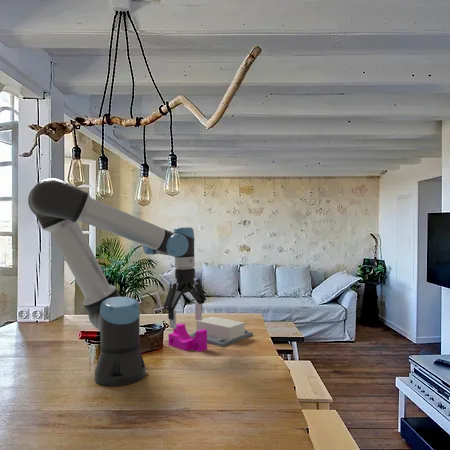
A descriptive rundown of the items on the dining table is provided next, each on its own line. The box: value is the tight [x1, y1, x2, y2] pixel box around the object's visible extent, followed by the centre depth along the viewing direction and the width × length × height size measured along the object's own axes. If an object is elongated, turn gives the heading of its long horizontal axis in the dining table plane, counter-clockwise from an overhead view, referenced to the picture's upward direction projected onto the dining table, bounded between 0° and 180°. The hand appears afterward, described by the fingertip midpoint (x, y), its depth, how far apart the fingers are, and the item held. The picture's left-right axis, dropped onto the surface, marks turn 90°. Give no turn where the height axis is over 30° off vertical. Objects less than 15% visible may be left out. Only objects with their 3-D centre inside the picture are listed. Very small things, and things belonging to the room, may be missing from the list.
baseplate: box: [188, 316, 254, 348], centre depth 156 cm, size 20×19×6 cm
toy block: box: [168, 323, 208, 353], centre depth 143 cm, size 15×6×8 cm, turn 48°
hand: (186, 323), depth 141 cm, fingers open, 13 cm apart
